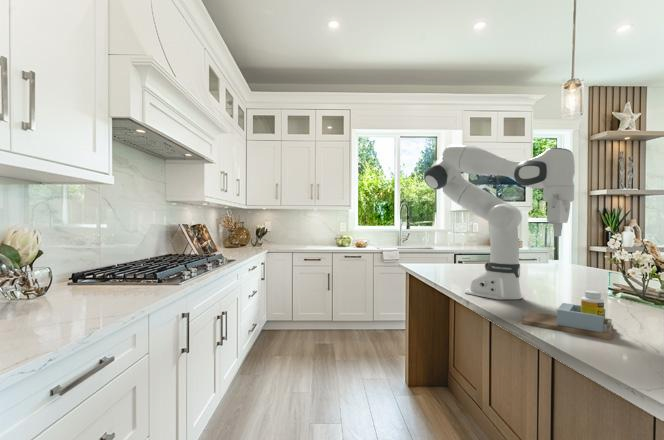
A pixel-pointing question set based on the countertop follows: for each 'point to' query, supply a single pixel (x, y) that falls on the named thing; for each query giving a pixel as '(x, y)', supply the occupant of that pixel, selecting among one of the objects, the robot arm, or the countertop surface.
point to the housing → (578, 318)
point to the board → (551, 323)
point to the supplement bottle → (592, 303)
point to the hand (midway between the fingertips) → (557, 236)
